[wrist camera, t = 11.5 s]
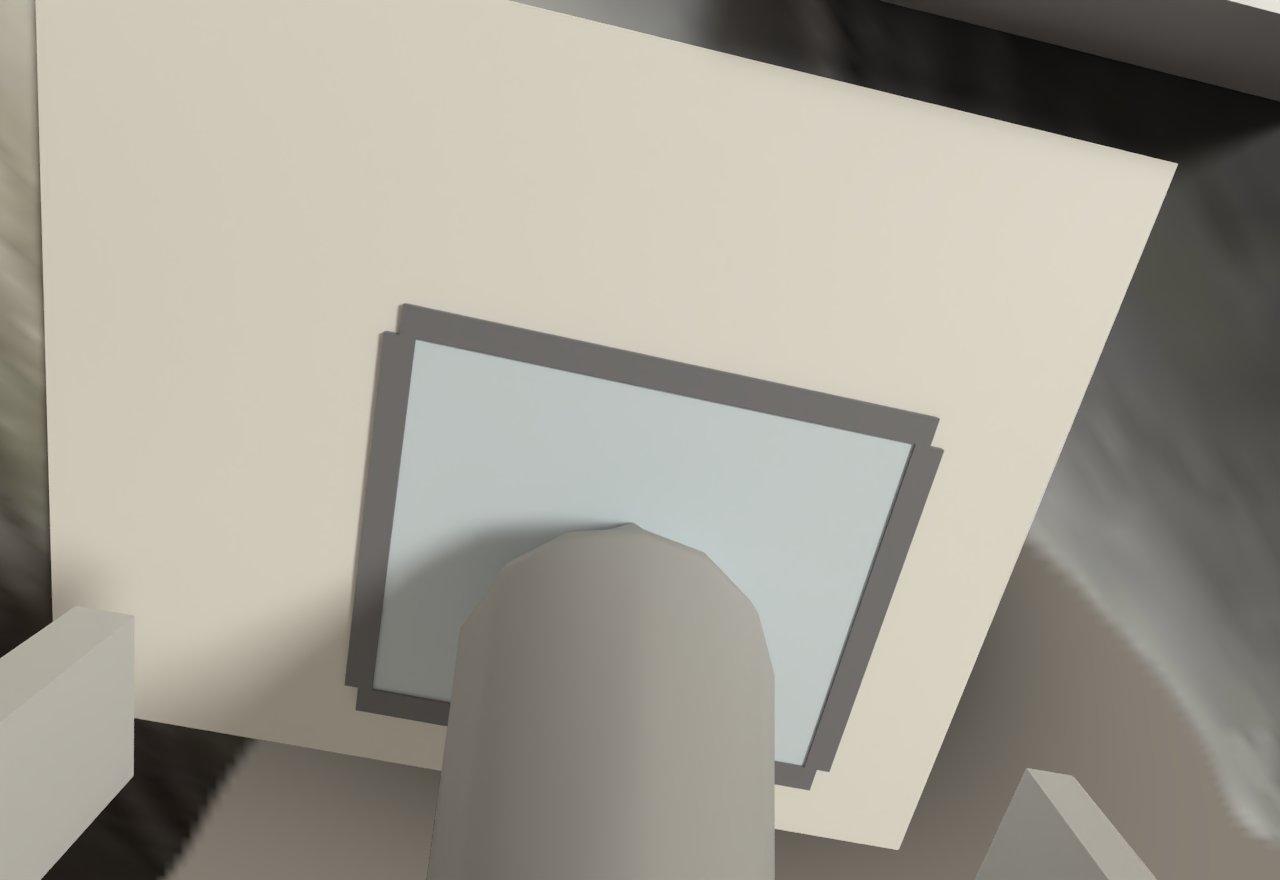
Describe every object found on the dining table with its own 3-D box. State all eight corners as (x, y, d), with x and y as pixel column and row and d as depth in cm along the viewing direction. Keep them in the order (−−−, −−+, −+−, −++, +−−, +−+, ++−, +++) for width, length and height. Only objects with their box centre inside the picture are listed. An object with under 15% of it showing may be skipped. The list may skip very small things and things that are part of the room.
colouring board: (72, 690, 16) (49, 709, 16) (56, -102, 12) (23, -122, 11) (891, 832, 17) (901, 855, 17) (1158, 166, 13) (1184, 163, 12)
